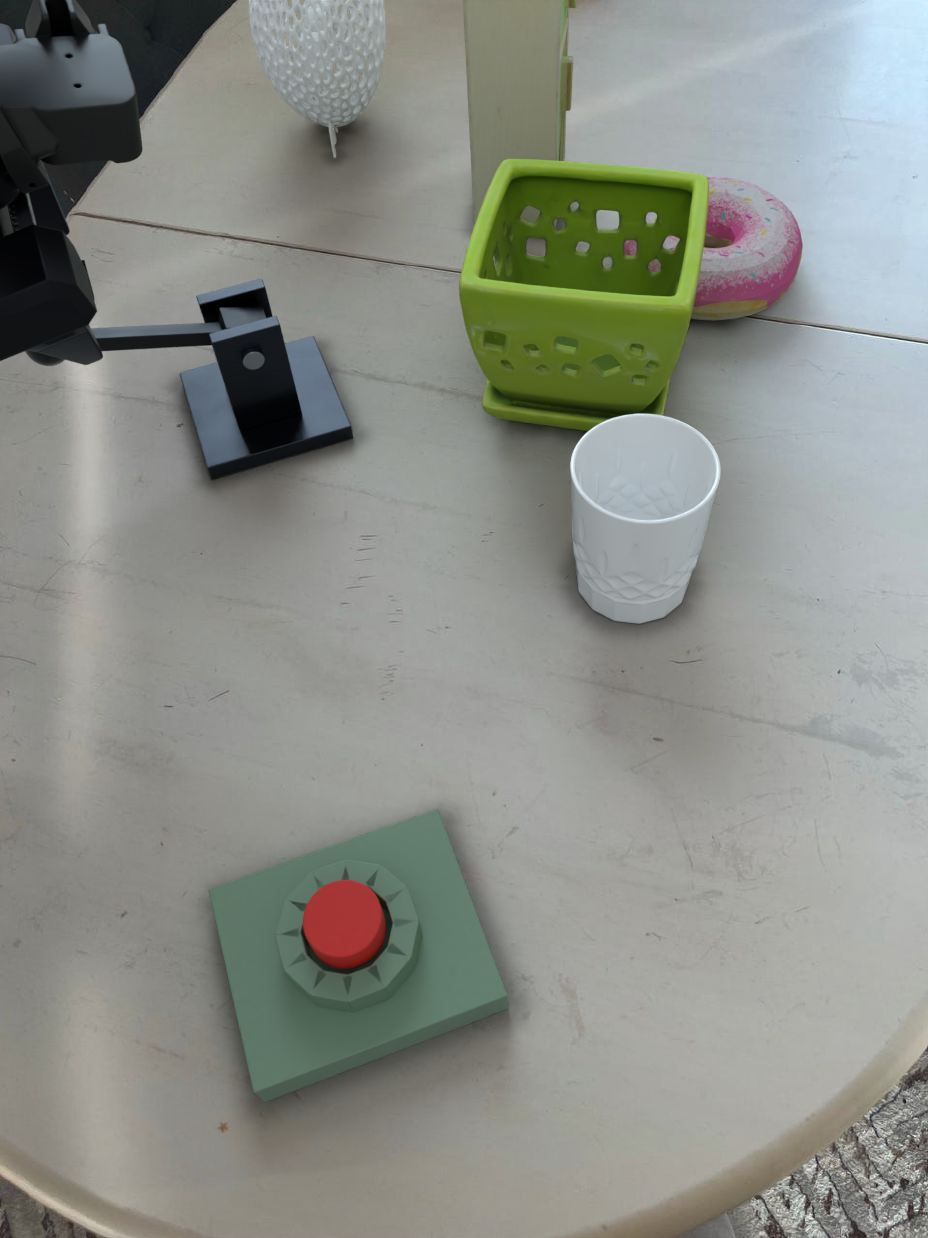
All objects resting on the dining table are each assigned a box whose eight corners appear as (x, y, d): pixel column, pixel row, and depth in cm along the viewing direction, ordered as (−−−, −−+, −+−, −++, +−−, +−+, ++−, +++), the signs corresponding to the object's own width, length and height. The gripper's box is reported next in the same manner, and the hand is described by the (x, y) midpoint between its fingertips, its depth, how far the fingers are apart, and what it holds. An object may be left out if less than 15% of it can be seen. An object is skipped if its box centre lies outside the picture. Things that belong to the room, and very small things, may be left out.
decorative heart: (290, 75, 100) (249, -134, 86) (402, 70, 100) (379, -141, 86) (264, 187, 90) (214, -29, 76) (389, 182, 89) (361, -37, 75)
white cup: (633, 656, 61) (648, 548, 53) (539, 577, 65) (539, 464, 57) (725, 580, 64) (752, 466, 56) (629, 509, 67) (641, 392, 59)
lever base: (211, 480, 71) (174, 381, 64) (183, 385, 77) (146, 283, 69) (354, 438, 72) (333, 337, 65) (316, 347, 78) (293, 245, 71)
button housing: (263, 1103, 49) (244, 1084, 45) (218, 904, 54) (198, 874, 51) (508, 1009, 50) (506, 984, 47) (441, 825, 56) (434, 792, 53)
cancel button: (320, 981, 48) (314, 969, 47) (300, 908, 50) (293, 895, 48) (396, 953, 48) (391, 940, 47) (373, 882, 50) (368, 868, 49)
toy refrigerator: (565, 236, 84) (571, -53, 67) (473, 232, 85) (456, -54, 68) (574, 178, 88) (583, -108, 71) (487, 174, 89) (474, -108, 72)
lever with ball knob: (27, 376, 64) (22, 338, 62) (22, 348, 66) (17, 309, 64) (269, 361, 70) (271, 326, 67) (259, 335, 71) (261, 299, 69)
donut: (631, 344, 76) (637, 287, 72) (600, 232, 84) (603, 174, 80) (817, 324, 76) (833, 266, 72) (769, 214, 84) (781, 155, 80)
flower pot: (670, 467, 69) (693, 310, 59) (462, 442, 72) (449, 286, 61) (692, 326, 77) (716, 165, 66) (504, 307, 79) (498, 149, 69)
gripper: (116, 137, 40) (257, 371, 54) (29, -151, 47) (174, 123, 62) (-154, 249, 40) (57, 452, 55) (-201, -55, 47) (-3, 196, 62)
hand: (77, 295), depth 58 cm, fingers open, 9 cm apart
